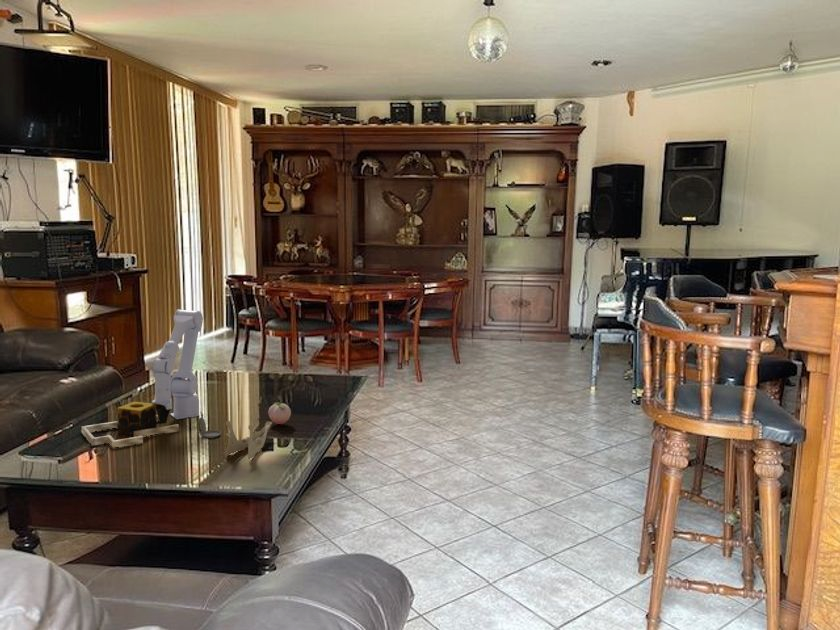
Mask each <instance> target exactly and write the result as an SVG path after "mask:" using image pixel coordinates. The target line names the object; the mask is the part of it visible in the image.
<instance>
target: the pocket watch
mask: <svg viewBox="0 0 840 630" xmlns="http://www.w3.org/2000/svg"><path fill="white" fill-rule="evenodd" d="M199 414H200V416H201V417H199V418H198V420H197V429H198V430H197V431H198V432H199V435H200V436H201V437H203V438H206V439H207V438H209V439H213V438H214V439H215V438H218V437H220V435H221V431H220V430H206V429H207V425H206V420H205V419H204V414H203V412H202V411H199Z"/></svg>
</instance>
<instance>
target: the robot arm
mask: <svg viewBox="0 0 840 630" xmlns="http://www.w3.org/2000/svg"><path fill="white" fill-rule="evenodd" d="M203 321H204V317H203V313H202V312H201V311H200V310H187V309H181V308H179V309H176V311H175V313H174V315H173V323H174V326H173V329H172V332H171V334H170V338H169V340H168V341H166V342H165V343H164V344H163V346H162V349H161V351H160V353H159V355H158V357H157V358H155V359H154V360H153V361H152V363H151V366H150V367H151V371H152V375H153V378H154V397H153V398H154V399H153V400H151V403H153V404H156V415H158V418H159V422H158V423H159V424H166V423H167V421H168V417H169V414H170V416H172V417H173V418H174V419H175V420H179V419H180V420H181V419H188V417H189V418H195V417H199V416H200V400H199V395H198V394H197V393H196V392H197V389H198V377H197V376H196V375H195V374H194V373H193V367H194V359H195V355H196V354H195V353H196V349H197V348H196V347H197V342H198V335H199V333H200V332H201V331H202V327H203ZM183 336H184V338H183ZM182 338H183V342H182V343H183V344H182V349H181V355H180V359H179V360H180V361H179V366H178V371H176V372H175V373H173V371H174V370H175V363H176V360H175V359H176V357H177V354H178V353H179V350H180V347H179V343H180V342H181V340H182ZM172 373H173V374H172ZM172 396H173V403H172ZM172 409H173V412H171V410H172ZM170 412H171V413H170Z"/></svg>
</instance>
